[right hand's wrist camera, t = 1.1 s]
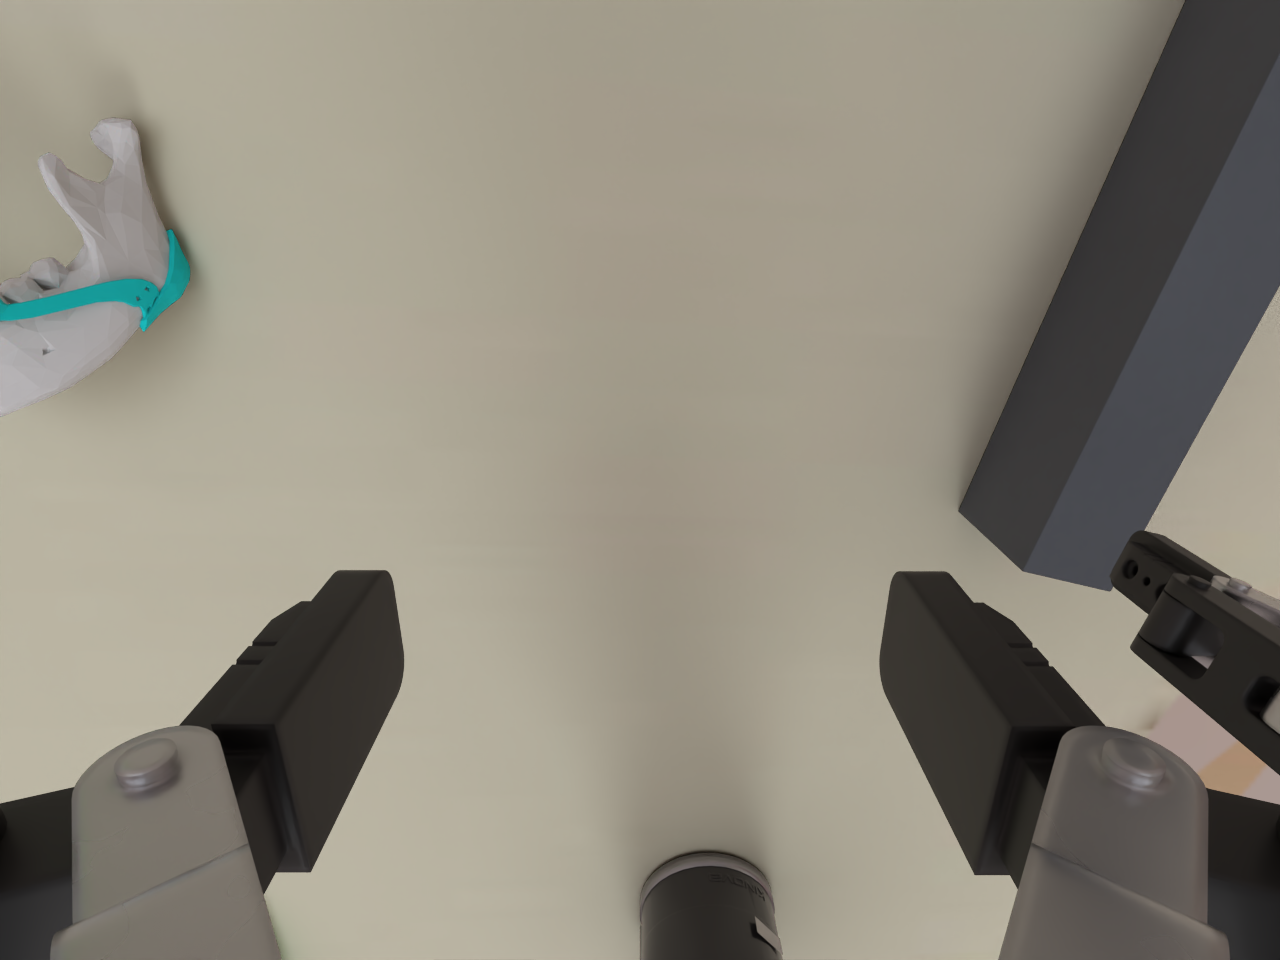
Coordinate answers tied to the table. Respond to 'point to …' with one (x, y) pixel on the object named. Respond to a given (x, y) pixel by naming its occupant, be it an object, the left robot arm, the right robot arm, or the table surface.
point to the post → (1146, 305)
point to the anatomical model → (89, 277)
